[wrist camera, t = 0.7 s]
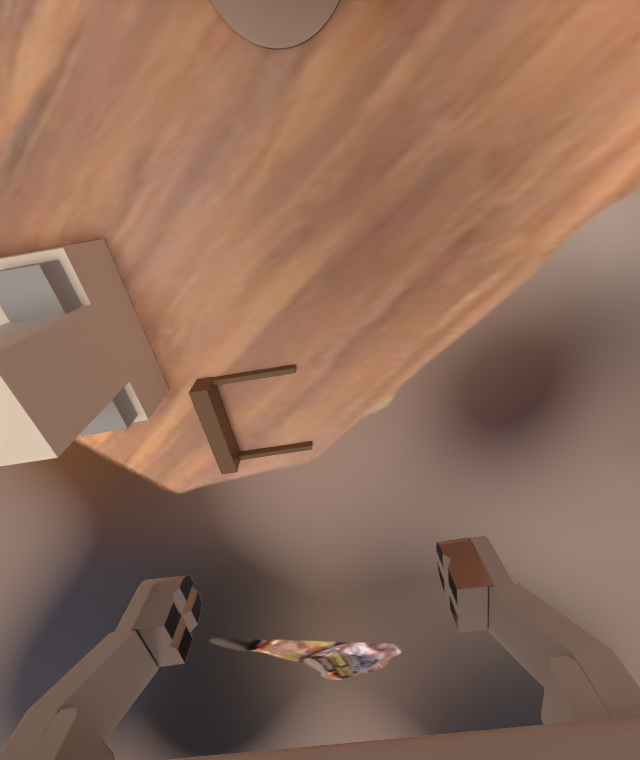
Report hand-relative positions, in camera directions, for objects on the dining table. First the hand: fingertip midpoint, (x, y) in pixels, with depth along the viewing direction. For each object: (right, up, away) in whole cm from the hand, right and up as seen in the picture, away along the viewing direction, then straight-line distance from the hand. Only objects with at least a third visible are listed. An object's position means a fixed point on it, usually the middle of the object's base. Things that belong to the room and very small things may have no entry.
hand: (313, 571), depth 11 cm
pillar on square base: (-35, +13, +36) cm, 52 cm away
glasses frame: (-10, +1, +44) cm, 45 cm away
